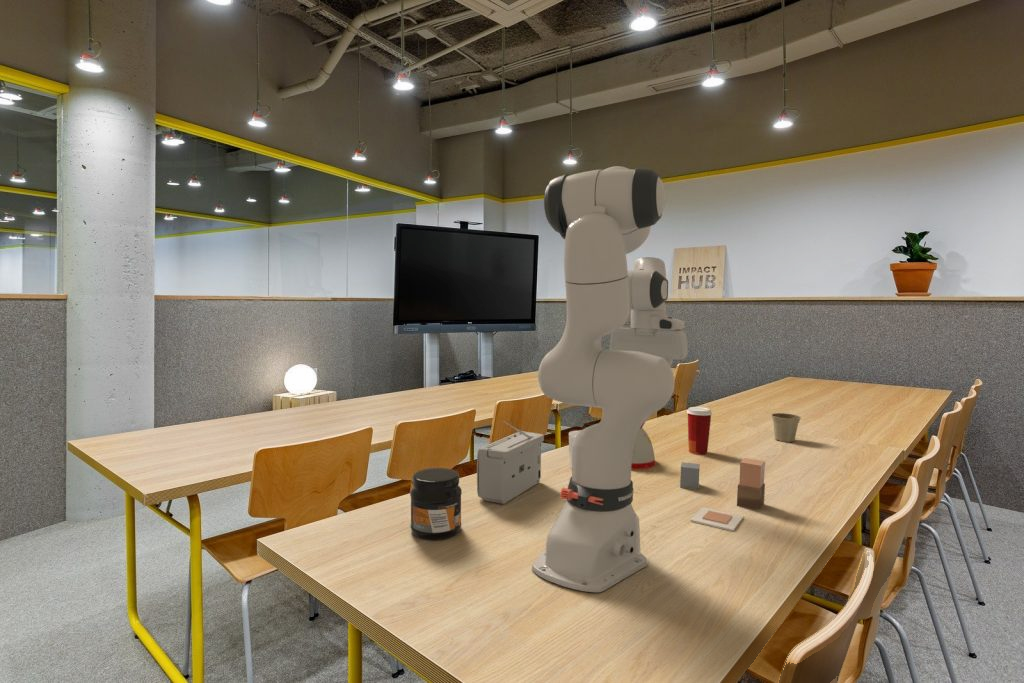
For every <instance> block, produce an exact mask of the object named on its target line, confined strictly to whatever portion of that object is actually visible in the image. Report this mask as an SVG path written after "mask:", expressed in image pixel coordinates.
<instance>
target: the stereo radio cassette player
mask: <svg viewBox="0 0 1024 683" xmlns="http://www.w3.org/2000/svg"><path fill="white" fill-rule="evenodd" d="M502 423H504V424H506V425H507V426H509V427H510V428H512V429H513V430H515V431H516V432H515V433H512V434H510V435H508V436H505V437H503V438H501V439H498V440H496V441H494V442H490V443H489V444H486V445H484V446H481V447H479V448H478V450H477V455H476V456H477V457H476V458H477V459H476V491H477V497H478V498H480V499H481V500H483V501H484V502H486V501H487V502H491V503H497V504H501V505H505V504H506V503H508V502H509V501H510V500H513V499H514V498H516V497H518V496H519V495H521V494H523V493H524V492H526V491H527V490H529V489H530V488H532V487H534V486H536V485H538V484H539V483H540V480H541V477H542V474H541V473H542V471H541V470H542V443H543V442H545V441H544V439H545V436H544V434H542V433H536V432H529V431H523V430H520V429H518V428H516V427H515V426H513V425H511V424H510V423H508V422H506V421H505V420H502Z"/></svg>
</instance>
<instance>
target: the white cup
mask: <svg viewBox="0 0 1024 683" xmlns="http://www.w3.org/2000/svg"><path fill="white" fill-rule="evenodd" d="M582 430H583V429H579V430H571V431H569V432H568V452H569V454H568V455H569V467H570V469H571V470H572V447H573V441H574V439H575V437H576V435H577V434H578V433H579V432H580V431H582Z"/></svg>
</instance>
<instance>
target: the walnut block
mask: <svg viewBox="0 0 1024 683" xmlns="http://www.w3.org/2000/svg"><path fill="white" fill-rule="evenodd" d="M765 487H766V483H764V484H763V486H762V487H761V488H760V489H757V488H752V487H747V486H741V485H739V483H738V484H737V492H736V493H737V494H736V496H737V497H736V507H741V508H746V509H751V510H755V511H758V512H759V511H760V510H761V509H762V508H763V506H764V505H765V491H766V488H765Z"/></svg>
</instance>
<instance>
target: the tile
mask: <svg viewBox="0 0 1024 683" xmlns="http://www.w3.org/2000/svg"><path fill="white" fill-rule="evenodd" d="M743 519H744V516H743V515H740V514H735V513H731V512H726V511H721V510H718V509H714V508H713V509H711V508H708V507H703V506H702V507H701V508H700V509H699V510H698V511H697V512H696V513H695V514H694V516H692V517H691V518H690V519H689V520H690V521H689V522H691V523H696V524H701V525H703V526H708V527H713V528H718V529H722V530H725V531H729V532H734V531H735V530H736V529H737V527H738V526H739V524H740V523H741V522H742V521H743Z"/></svg>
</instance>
